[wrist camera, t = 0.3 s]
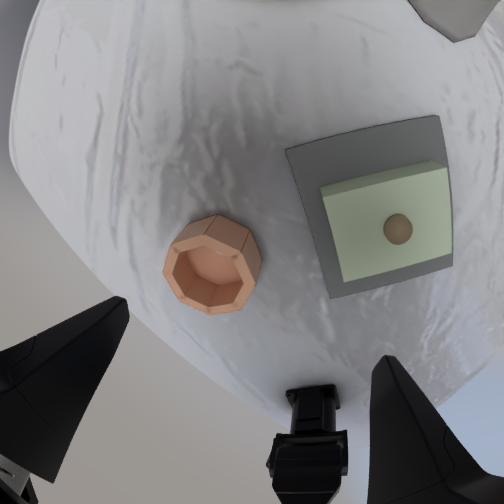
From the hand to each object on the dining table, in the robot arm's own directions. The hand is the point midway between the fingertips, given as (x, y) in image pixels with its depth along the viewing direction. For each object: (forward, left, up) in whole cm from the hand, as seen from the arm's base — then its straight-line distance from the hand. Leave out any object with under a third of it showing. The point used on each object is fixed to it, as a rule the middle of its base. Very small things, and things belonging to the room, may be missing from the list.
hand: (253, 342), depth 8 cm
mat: (-3, -8, -14) cm, 16 cm away
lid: (-3, -8, -13) cm, 15 cm away
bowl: (-3, +6, -14) cm, 15 cm away
